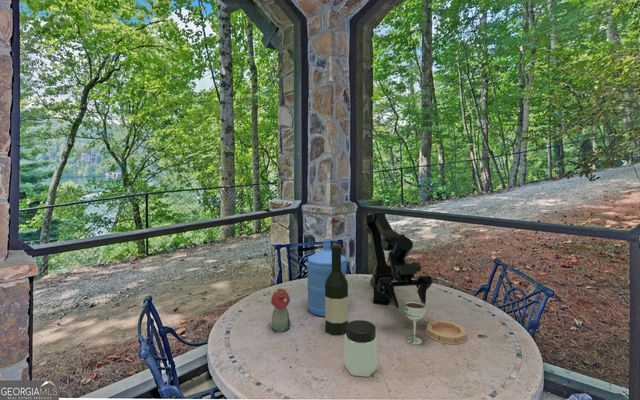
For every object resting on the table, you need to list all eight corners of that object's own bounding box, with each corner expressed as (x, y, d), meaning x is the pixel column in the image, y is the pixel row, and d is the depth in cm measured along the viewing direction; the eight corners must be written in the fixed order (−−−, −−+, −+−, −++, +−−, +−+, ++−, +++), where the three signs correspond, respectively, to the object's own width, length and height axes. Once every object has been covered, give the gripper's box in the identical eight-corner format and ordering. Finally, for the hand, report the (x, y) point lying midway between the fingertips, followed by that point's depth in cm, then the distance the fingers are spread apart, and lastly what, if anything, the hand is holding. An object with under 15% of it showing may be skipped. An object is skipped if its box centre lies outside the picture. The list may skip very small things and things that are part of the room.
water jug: (301, 313, 127) (300, 242, 125) (316, 299, 141) (316, 235, 139) (339, 320, 121) (339, 245, 119) (351, 304, 135) (351, 237, 133)
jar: (357, 356, 97) (357, 316, 96) (381, 366, 92) (381, 324, 91) (339, 369, 90) (339, 327, 89) (364, 381, 85) (364, 337, 84)
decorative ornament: (286, 334, 110) (286, 291, 109) (268, 333, 111) (267, 290, 110) (292, 322, 119) (292, 282, 118) (275, 321, 120) (274, 281, 119)
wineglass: (422, 347, 101) (422, 310, 100) (400, 342, 105) (401, 305, 104) (427, 338, 107) (428, 302, 106) (407, 333, 110) (407, 298, 109)
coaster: (425, 341, 105) (425, 335, 105) (425, 323, 118) (425, 318, 117) (469, 347, 101) (469, 340, 101) (464, 328, 114) (464, 322, 114)
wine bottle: (351, 326, 115) (351, 243, 113) (343, 337, 108) (343, 248, 106) (330, 322, 119) (329, 241, 117) (320, 332, 111) (320, 246, 109)
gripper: (379, 254, 111) (390, 298, 100) (431, 252, 113) (447, 294, 103) (372, 270, 119) (381, 312, 109) (420, 268, 121) (434, 309, 111)
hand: (411, 307), depth 108 cm, fingers open, 9 cm apart
